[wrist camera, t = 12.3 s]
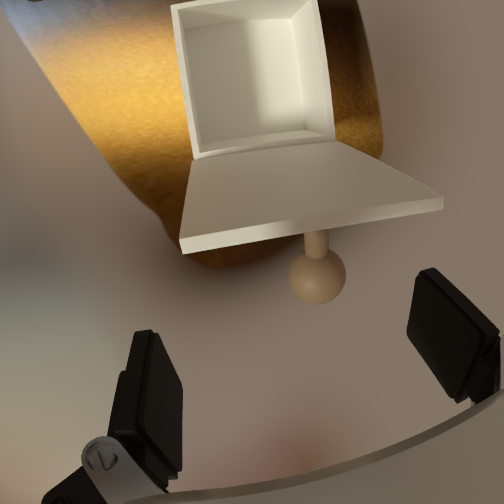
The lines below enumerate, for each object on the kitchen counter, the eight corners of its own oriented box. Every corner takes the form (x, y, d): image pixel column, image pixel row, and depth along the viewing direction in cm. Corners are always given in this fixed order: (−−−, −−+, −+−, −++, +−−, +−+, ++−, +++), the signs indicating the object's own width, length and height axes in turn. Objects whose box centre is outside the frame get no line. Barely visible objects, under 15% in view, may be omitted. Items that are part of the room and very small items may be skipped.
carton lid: (178, 239, 14) (209, 345, 18) (444, 196, 15) (426, 295, 19) (192, 160, 28) (205, 227, 32) (337, 140, 29) (339, 204, 33)
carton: (178, 27, 29) (170, 5, 21) (293, 16, 30) (315, -7, 22) (197, 149, 37) (194, 160, 28) (308, 133, 37) (335, 140, 29)
